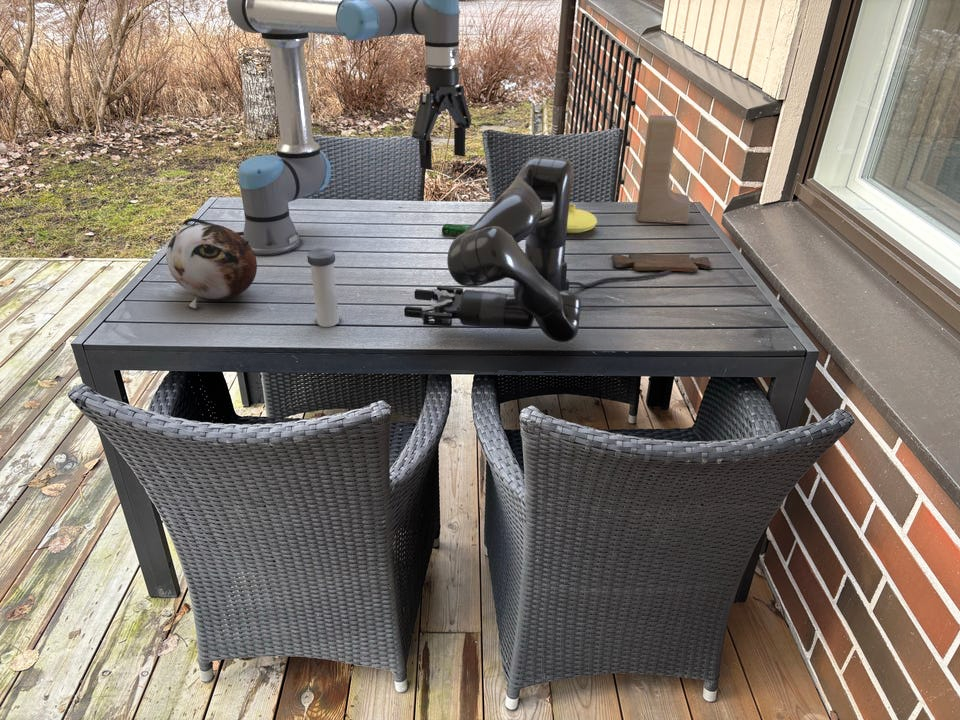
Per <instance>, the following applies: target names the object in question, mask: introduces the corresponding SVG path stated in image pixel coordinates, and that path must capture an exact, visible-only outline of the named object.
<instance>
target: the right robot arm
mask: <svg viewBox="0 0 960 720" xmlns="http://www.w3.org/2000/svg"><path fill="white" fill-rule="evenodd" d="M573 167H574V166H573V164H572V162H571V161H570V160H569V159H565V158H558V157H547V156H532V157H530V158H528V159H527V160H526V161H525V163H524V164H523V165H522V167H521V168H520V171H519V172H518V173H517V175H516V177H515V179H514V180H513V182H512V183H511V184H510V185H509V186H508V188H506V190H504V191H503V192H502V193H501V194H500V195H499V196H498V197H497V198H496V200H495V201H494V202H493V203H492V205H491V206H490V207H489V208H488V209H487V210H486V211H485V212H484V213H483V214H482V215H481V217H480V218H478V220H477V221H476V222H475V223H474V224H472V225H473V226H472V225H471V226H472V227H471V228H469V229H468V230H467V231H465V232H464V233H462V234H461V235H459V236H456V237H455V238H454V239H453V241H452V242H451V243H450V246H449V248H448V253H447V257H446V262H447V269H448V272H449V274H450V276H451V278H452V280H454V281H455V282H456V283H457V284H458V285H460V286H462V287H466V288H467V287H478V286H483V285H487V284H491V283H495V282H498V281H502V280H504V279H506V278H507V279H511V280H513V287H512V288H513V289H512V290H513V294H507V293H501V292H498V291H497V292H496V291H486V290H474V289H464V288H462V287H454V286H446V285H437V286H436V288H433V289H420V288H416V289H415V290H414V291H413V293H414V299H415V300H417V301H427V302H428V301H429V302H431V301H433V302H434V303H432V304H431V306H426V307H422V306H410V305H409V306H408V305H406V306H405V307H404V308H403V310H404V311H403V312H404V315H403V316H404V317H405V318H412V319H413V318H414V319H421V320H422V325H425V326H437V327H452V326H453V320H454V319H456V320H457V319H458V320H460V324H461V325H462V326H468V327H469V326H470V327H480V328H493V329H501V328H505V329H515V330H528V329H531V328H532V327H533V324H534V321H535V322H536V323H537V325H538V326H539V329H540V330H541V331H542V332H543V334H544V335H545V336H547V338H549V339H550V340H552V341H555V342H558V343H567V342H571V341H572V340H574V339H575V338H576V337H577V335H578V333H579V328H580V317H581V310H582V309H581V307H582V300H581V298H580V296H579V295H578V294H576V293H575V292H573V291H571V290H570V286H580V287H582V288H590V287H593V286H596V285H598V284H600V283H604V282H609V281H628V280H630V281H631V280H642V279H649V278H656V277H660V276H662V275H667V274H669V273H672V271H670V270H667V271H664V270H663V271H660V272H656V273H651V274H645V275H636V276H635V275H634V276H612V277H605V278H602V279H598V280H596V281H594V282H591V283H586V284H585V283H584V284H583V283H582V282H580V281H579V282H578V281H569V279H568V278H567V276H568V275H567V274H568V273H567V272H568V262H566V261H565V257H566V245H567V234H568V233H567V222H568V213H569V205H570V204H571V203H570V201H571V194H572V188H573V178H574V168H573ZM542 201H544V202H552V206H550V207H548V208H546V209H543V204H542ZM523 240H524V241H525V245H524V250H523V249H522V247H521V246H520V245H519V243H520V242H522V241H523ZM693 258H694V257H690V259H693Z"/></svg>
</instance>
